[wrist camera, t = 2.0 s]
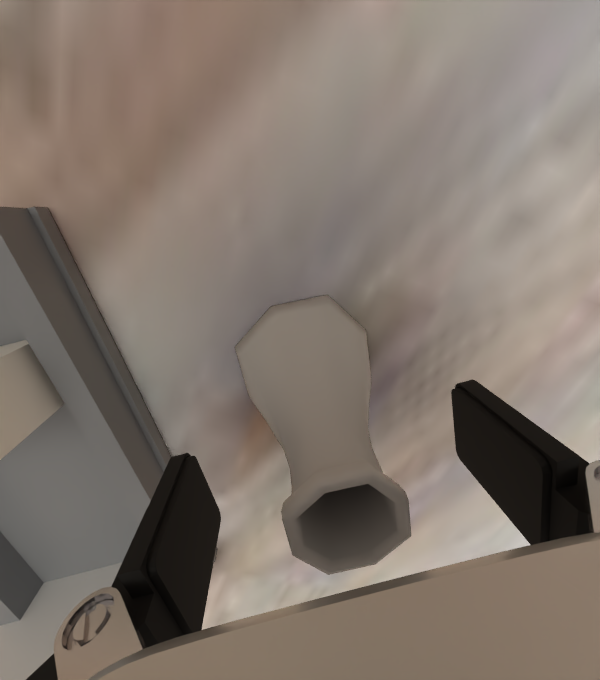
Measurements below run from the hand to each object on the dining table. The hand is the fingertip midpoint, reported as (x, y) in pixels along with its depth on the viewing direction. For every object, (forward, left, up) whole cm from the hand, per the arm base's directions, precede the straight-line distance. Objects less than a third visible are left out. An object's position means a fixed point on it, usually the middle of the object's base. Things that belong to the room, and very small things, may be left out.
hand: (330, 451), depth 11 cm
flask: (-1, 0, -7) cm, 7 cm away
